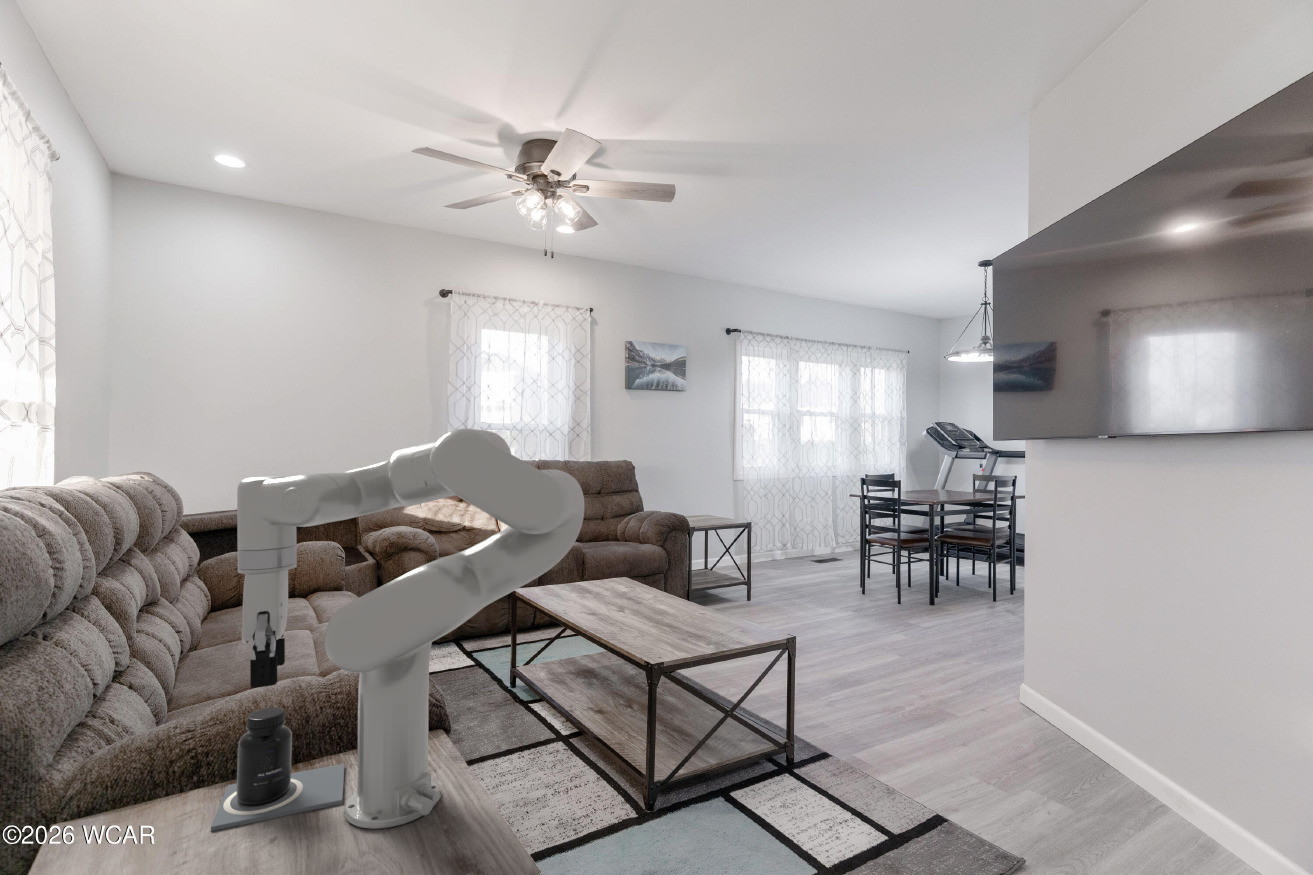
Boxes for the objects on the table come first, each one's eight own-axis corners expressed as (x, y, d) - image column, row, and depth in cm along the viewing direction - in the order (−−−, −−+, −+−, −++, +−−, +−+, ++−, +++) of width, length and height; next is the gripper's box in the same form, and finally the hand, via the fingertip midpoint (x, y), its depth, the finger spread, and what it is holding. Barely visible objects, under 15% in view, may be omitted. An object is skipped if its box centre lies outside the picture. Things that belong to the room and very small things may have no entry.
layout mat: (344, 767, 104) (344, 762, 104) (342, 803, 93) (342, 798, 93) (227, 788, 97) (227, 783, 97) (210, 831, 86) (210, 825, 86)
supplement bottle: (266, 810, 90) (266, 724, 90) (224, 805, 91) (225, 720, 92) (301, 785, 97) (302, 705, 97) (263, 781, 98) (263, 702, 98)
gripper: (247, 554, 101) (248, 662, 101) (226, 571, 86) (227, 699, 85) (301, 550, 104) (302, 655, 104) (290, 565, 89) (291, 689, 88)
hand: (268, 675), depth 95 cm, fingers open, 9 cm apart
